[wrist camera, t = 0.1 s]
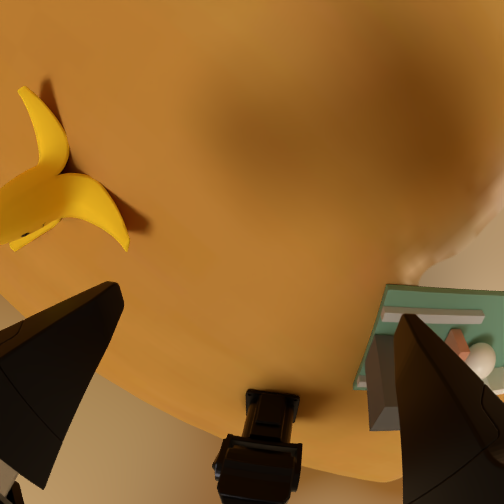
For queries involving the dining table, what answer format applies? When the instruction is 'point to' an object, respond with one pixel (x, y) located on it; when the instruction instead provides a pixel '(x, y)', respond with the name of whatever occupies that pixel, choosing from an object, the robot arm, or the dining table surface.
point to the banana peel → (53, 188)
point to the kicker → (393, 378)
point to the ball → (481, 359)
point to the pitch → (445, 320)
